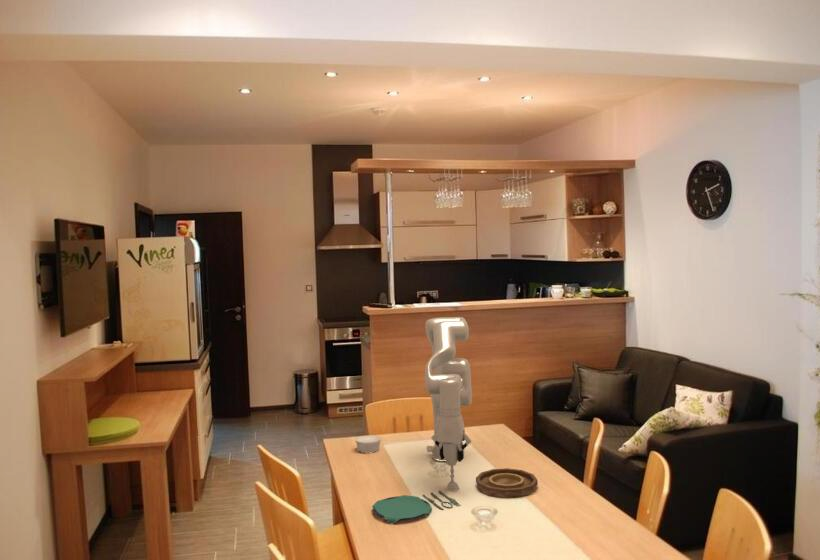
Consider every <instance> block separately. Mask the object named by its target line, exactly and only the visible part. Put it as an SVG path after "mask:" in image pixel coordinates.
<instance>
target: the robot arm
mask: <svg viewBox="0 0 820 560" xmlns="http://www.w3.org/2000/svg"><path fill="white" fill-rule="evenodd" d="M424 327H425V329H424V330H425V333H426V336H427V339H428V342H429V345H430V347H431V351H432V356H431V357H430V358H429V359H428V361H427V362H426V365H425V368H424V369H425V370H424V380H425V381H424V382H425V390H426V392H427V393H428V394H429V395H430V399H431V403H432V405H431V406H432V412H433V435H432V436H431V440H432V441H433V442H434V446H432V445H427V446H426V451H427V452H428V453H432V454H431V455H430V456H431V459H432V460H433V459H439V460H445V457H444V455H443V443H447V444H457V446H458V449H459V451H458V461H457V463H461V462H462V461H463V459H464V458H465V454H464V452H465V451H464V450H465V449H466V448H467V447H468V446H469V445H470V444H471V443H472V440H471V438H470V437H469V436H468V435H467V434H466V430H465V429H466V428H465V422H464V418H463V417H464V416H463V415H462V414H461V407H467V406H470V405H471V404H472V401H473V389H472V375H471V374H472V373H471V372H472V371H471V366H470V365H471V364H470V362H469V361H468V359H466V358H464V357H463V358H462V357H456V354H457V351H456V350H457V349H456V342H462V341H468V338H469V336H470V331H469V329H470V328H469V325H468V322H467V320H466V319H465V318H464V317H462V316H458V317H457V316H455V317H453V316H452V317H448V316H447V317H432V318H429V319H427V320H426V321H425V326H424ZM463 442H465V443H463Z"/></svg>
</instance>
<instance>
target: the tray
mask: <svg viewBox="0 0 820 560" xmlns="http://www.w3.org/2000/svg"><path fill="white" fill-rule="evenodd" d="M475 483H476V489H477V490H478V491H479V492H480V493H482V494H484V495H487V496H489V497H494V498H501V499H515V498H516V499H517V498H523V496H524V497H528V496H529V495H532V494H534V493H535V492H536V491H537V486H538V484H539V483H538V478H537V477H536V476H535V475H534V474H533V473H531V472H529V471H525V470H524V469H523V470H522V469H518V468H517V469H516V468H509V467H507V468H504V467H503V468H492V469H488V470H485V471H482V472H480V473H479V474H478V475H477V476H476V477H475ZM533 492H534V493H533Z"/></svg>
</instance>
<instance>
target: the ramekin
mask: <svg viewBox="0 0 820 560" xmlns="http://www.w3.org/2000/svg"><path fill="white" fill-rule="evenodd" d="M381 440H382V438H381V437H380V436H378V435H370V434H369V435H362V436H359V437H357V438H355V443H356V447H357V450H359V451H361V452H373V453H375V452H374V451H376V452H378V451H379V449H380V445H381ZM377 450H378V451H377ZM359 451H358V452H359ZM361 452H360V453H361Z"/></svg>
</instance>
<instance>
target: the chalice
mask: <svg viewBox="0 0 820 560" xmlns="http://www.w3.org/2000/svg"><path fill="white" fill-rule="evenodd" d="M458 451H459V449H458V446H457V444H447V443H443V455H444V457H445V460H446V462H445V463H446V464H447V466H449V467H450V469H449V472H450V475H449V477H450V480H449V482H448V483H447V485H446V488H445V490H446V491H448V492H457V491H459V490H460V487H459V484H458V483H457V482H456V481H455V474H454V472H455V470H454V469H455V468H454V467H456V465H457V463H458Z"/></svg>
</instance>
